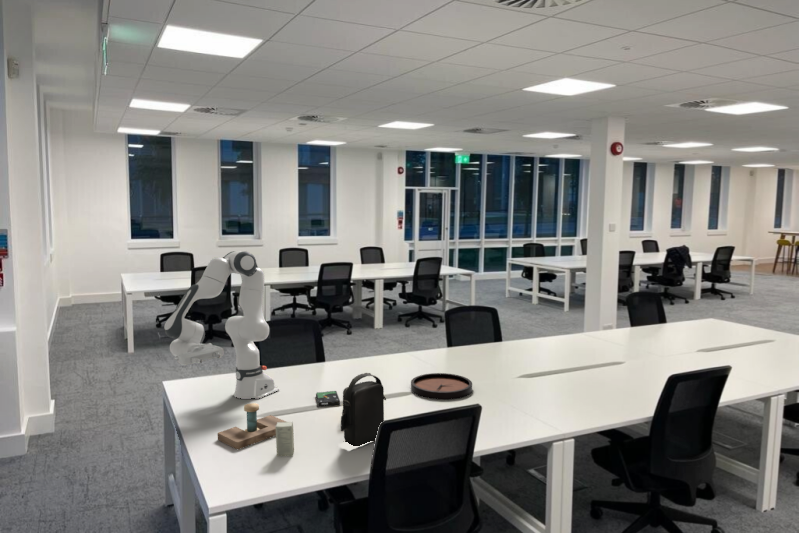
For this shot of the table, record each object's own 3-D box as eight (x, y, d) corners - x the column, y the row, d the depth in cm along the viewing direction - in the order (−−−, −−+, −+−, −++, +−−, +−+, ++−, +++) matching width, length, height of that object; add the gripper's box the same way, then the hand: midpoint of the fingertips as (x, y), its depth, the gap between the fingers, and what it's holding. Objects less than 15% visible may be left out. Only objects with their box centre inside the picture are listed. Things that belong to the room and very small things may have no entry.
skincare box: (294, 451, 227) (293, 421, 226) (292, 456, 223) (292, 426, 221) (278, 451, 227) (277, 421, 225) (276, 457, 222) (275, 426, 221)
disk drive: (340, 406, 278) (336, 395, 292) (340, 400, 277) (336, 390, 292) (318, 408, 275) (315, 397, 290) (318, 402, 275) (315, 391, 289)
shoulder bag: (348, 452, 227) (348, 382, 223) (333, 445, 233) (333, 377, 230) (390, 436, 242) (391, 370, 239) (376, 429, 249) (376, 365, 245)
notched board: (270, 421, 257) (270, 415, 257) (290, 430, 248) (290, 423, 247) (217, 439, 238) (217, 432, 237) (237, 449, 228) (237, 442, 228)
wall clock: (441, 369, 323) (485, 383, 299) (441, 376, 323) (484, 390, 300) (398, 381, 302) (441, 396, 279) (398, 388, 303) (441, 405, 279)
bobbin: (254, 429, 248) (253, 402, 247) (262, 433, 244) (261, 405, 243) (241, 433, 244) (241, 406, 242) (250, 437, 240) (249, 409, 238)
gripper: (171, 351, 256) (187, 357, 247) (213, 342, 272) (230, 347, 263) (172, 365, 257) (188, 371, 248) (213, 355, 272) (230, 361, 263)
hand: (210, 359), depth 255 cm, fingers open, 8 cm apart
